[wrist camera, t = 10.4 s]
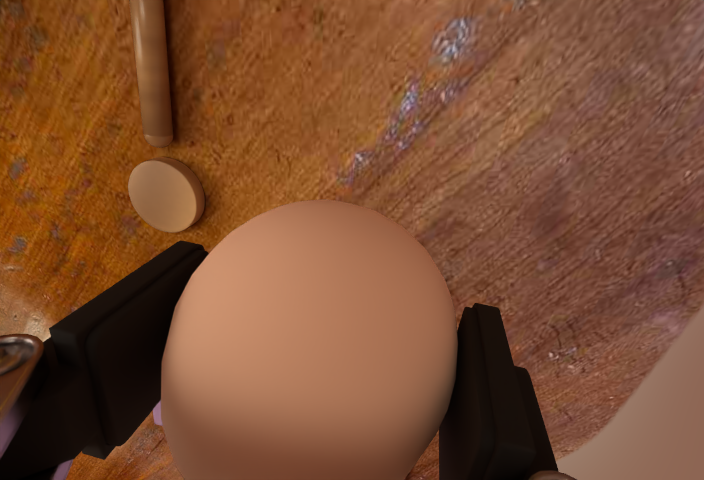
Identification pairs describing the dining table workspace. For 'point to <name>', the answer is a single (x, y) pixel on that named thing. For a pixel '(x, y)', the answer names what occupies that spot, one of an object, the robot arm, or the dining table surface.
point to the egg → (309, 350)
